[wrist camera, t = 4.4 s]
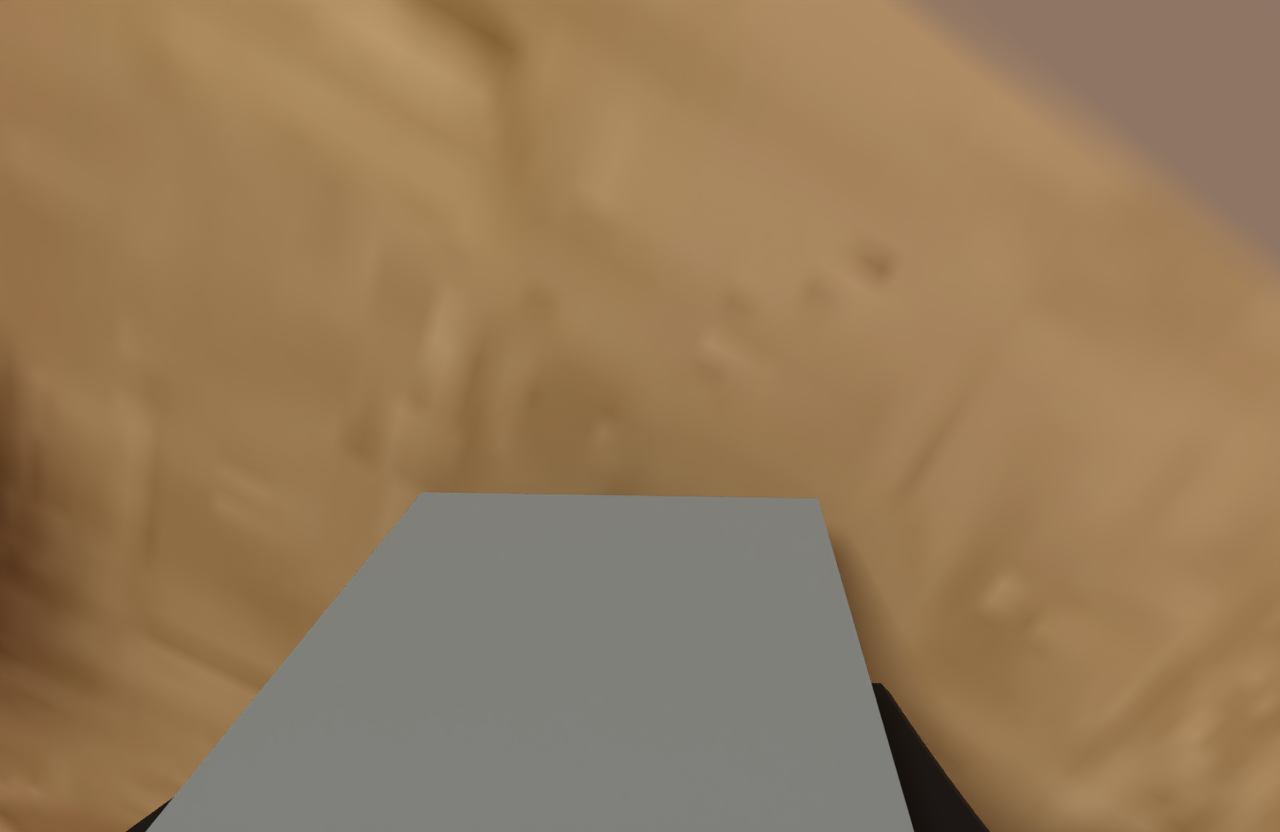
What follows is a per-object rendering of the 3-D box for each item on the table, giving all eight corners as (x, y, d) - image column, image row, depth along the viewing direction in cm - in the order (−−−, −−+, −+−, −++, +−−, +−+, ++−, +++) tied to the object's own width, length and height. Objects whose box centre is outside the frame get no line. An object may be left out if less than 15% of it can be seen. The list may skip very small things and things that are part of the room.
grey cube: (465, 788, 11) (291, 1244, 7) (422, 492, 10) (145, 831, 5) (798, 805, 11) (863, 1311, 6) (817, 498, 9) (928, 880, 4)
